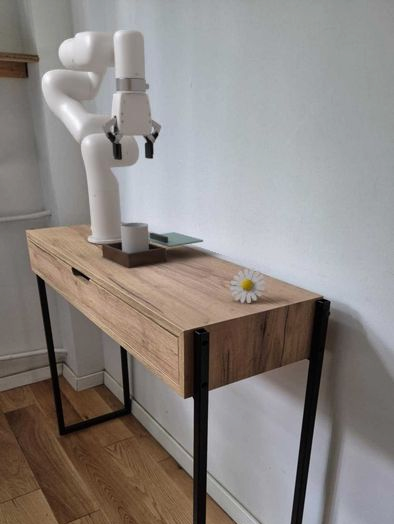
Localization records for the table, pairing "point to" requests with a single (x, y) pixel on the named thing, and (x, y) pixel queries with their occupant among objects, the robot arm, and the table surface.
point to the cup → (134, 237)
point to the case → (133, 255)
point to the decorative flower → (247, 285)
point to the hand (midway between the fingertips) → (133, 159)
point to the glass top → (172, 239)
